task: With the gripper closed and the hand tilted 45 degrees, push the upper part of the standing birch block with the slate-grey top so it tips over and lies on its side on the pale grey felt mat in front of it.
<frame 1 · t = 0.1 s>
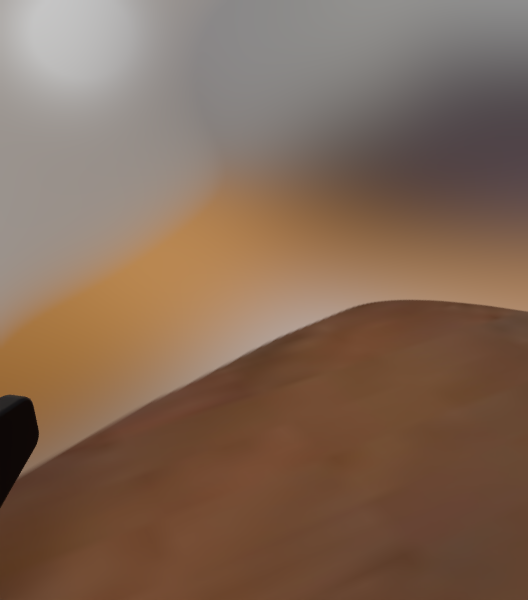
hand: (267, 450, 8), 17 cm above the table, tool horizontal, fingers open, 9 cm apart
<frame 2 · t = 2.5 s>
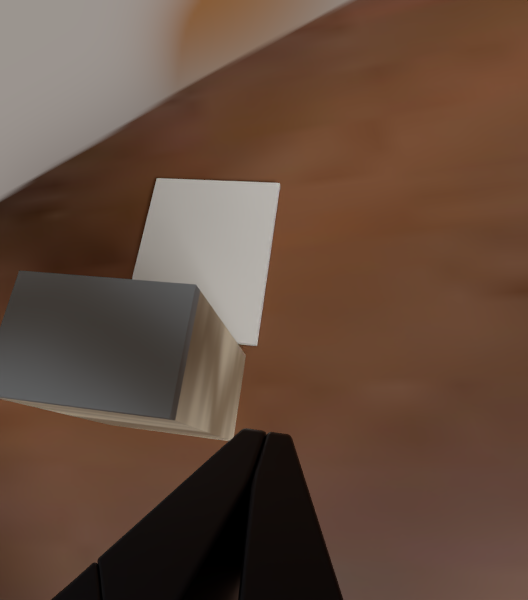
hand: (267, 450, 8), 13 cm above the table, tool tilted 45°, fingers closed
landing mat: (203, 256, 25), on the table
birch block: (178, 389, 23), on the table
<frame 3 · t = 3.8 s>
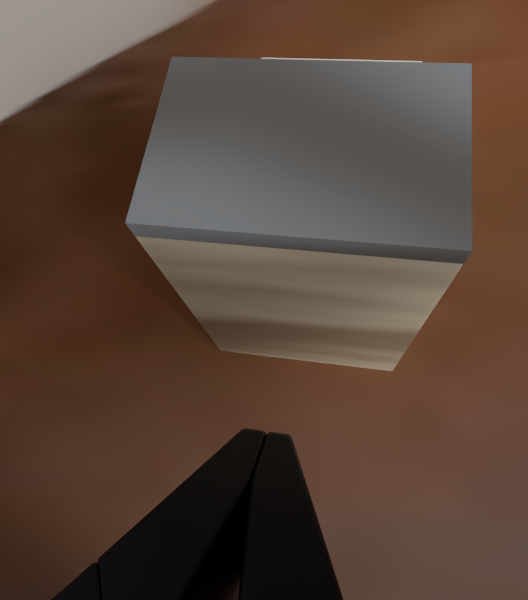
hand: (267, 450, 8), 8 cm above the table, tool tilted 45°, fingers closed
birch block: (310, 306, 17), on the table
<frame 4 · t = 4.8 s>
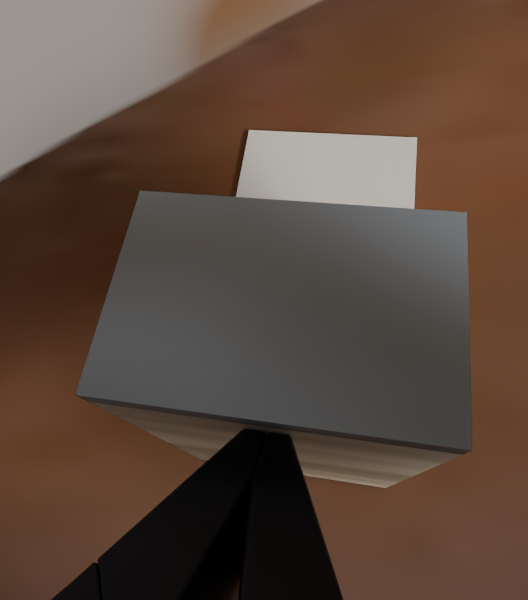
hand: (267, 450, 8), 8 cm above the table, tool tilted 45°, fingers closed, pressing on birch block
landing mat: (319, 231, 19), on the table
birch block: (297, 410, 16), on the table, touching gripper
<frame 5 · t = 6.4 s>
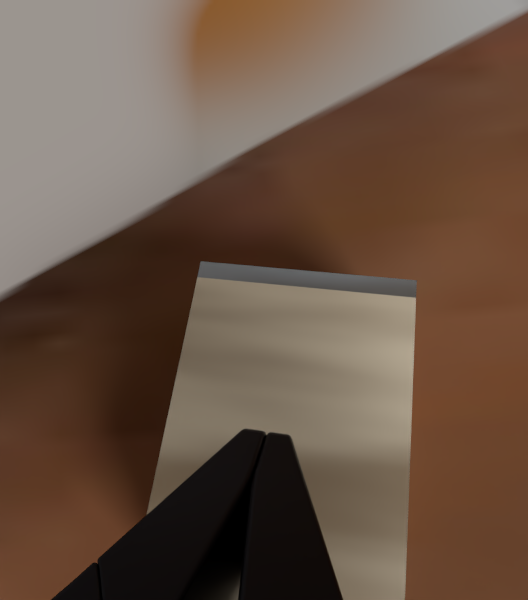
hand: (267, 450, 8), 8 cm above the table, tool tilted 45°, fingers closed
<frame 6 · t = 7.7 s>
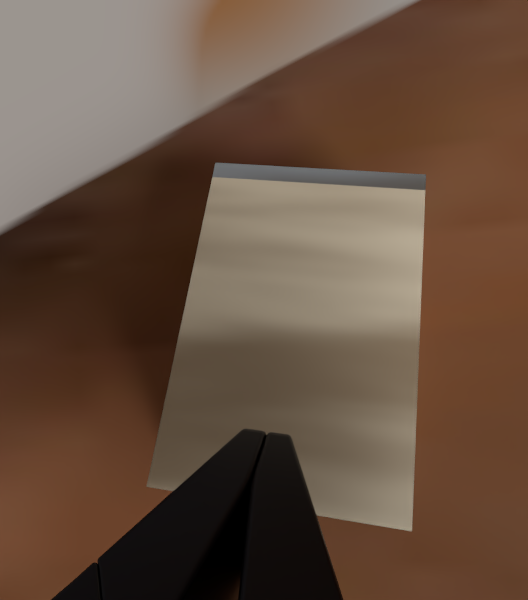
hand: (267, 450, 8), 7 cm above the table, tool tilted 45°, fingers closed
birch block: (280, 502, 12), point 2 cm above the table, tilted 90°, touching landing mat
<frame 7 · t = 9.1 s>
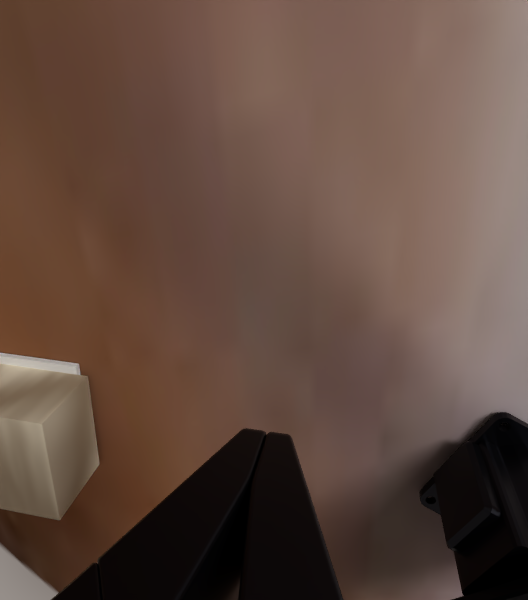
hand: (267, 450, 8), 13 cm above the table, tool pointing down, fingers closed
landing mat: (13, 405, 27), on the table
birch block: (74, 446, 24), point 2 cm above the table, tilted 90°, touching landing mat
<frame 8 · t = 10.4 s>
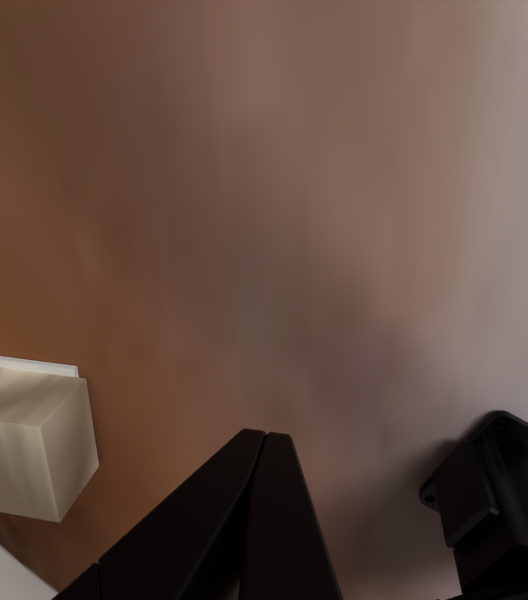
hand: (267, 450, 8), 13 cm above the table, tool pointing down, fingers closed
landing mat: (12, 408, 27), on the table
birch block: (73, 449, 24), point 2 cm above the table, tilted 90°, touching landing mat
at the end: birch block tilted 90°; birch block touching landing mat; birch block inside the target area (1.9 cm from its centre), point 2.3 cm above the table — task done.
